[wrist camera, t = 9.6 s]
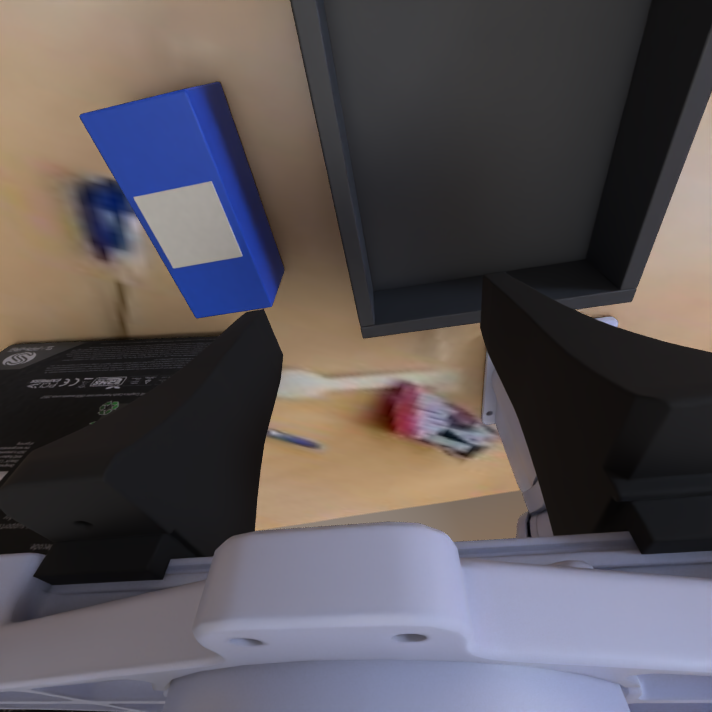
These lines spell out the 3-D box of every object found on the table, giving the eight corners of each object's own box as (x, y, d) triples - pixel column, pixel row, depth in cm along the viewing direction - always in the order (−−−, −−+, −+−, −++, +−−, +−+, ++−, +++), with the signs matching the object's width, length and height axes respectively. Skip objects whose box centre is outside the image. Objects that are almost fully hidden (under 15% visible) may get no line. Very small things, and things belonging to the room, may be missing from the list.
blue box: (285, 270, 21) (272, 308, 18) (218, 281, 21) (194, 320, 18) (220, 80, 15) (183, 88, 12) (131, 102, 16) (75, 115, 13)
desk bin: (593, 266, 21) (632, 302, 18) (362, 301, 22) (362, 339, 19) (742, -274, 10) (906, -414, 7) (277, -128, 12) (249, -189, 9)
